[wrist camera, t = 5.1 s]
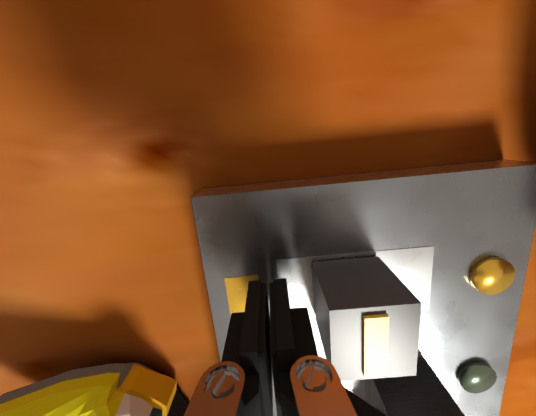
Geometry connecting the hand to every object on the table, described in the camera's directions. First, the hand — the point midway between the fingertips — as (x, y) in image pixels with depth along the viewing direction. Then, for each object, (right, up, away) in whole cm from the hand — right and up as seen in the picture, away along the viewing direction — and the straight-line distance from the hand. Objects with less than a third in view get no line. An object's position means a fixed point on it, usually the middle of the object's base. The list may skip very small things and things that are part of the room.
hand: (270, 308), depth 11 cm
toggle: (+3, +1, +1) cm, 4 cm away
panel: (+5, -6, +5) cm, 9 cm away
